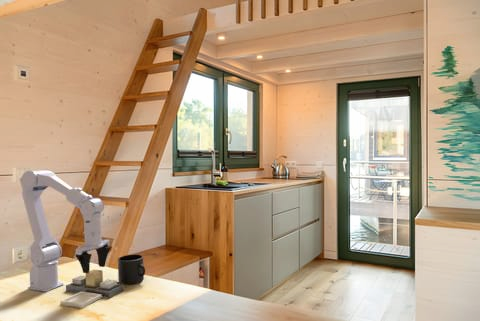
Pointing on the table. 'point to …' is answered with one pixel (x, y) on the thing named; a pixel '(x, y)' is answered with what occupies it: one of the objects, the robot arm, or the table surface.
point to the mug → (130, 269)
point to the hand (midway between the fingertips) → (94, 269)
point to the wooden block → (94, 278)
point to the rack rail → (106, 288)
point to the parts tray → (81, 299)
